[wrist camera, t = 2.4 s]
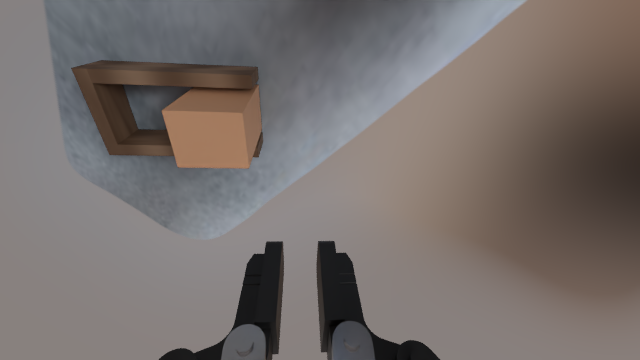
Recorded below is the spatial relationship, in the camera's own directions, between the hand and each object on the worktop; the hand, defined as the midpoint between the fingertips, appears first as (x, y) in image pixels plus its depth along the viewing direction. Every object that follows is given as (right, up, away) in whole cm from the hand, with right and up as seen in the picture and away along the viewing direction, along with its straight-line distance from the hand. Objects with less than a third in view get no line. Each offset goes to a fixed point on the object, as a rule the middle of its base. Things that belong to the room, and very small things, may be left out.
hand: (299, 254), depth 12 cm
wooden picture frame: (-13, +12, +17) cm, 24 cm away
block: (-9, +12, +17) cm, 22 cm away
